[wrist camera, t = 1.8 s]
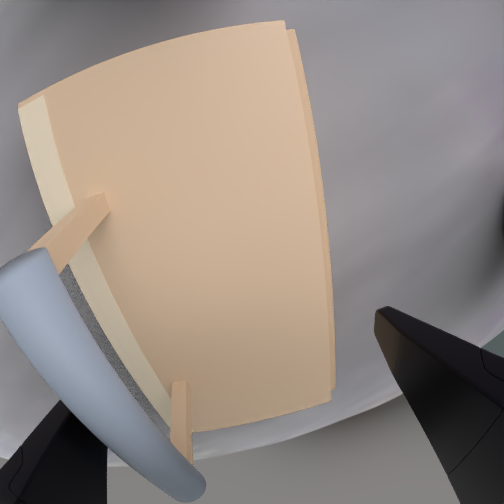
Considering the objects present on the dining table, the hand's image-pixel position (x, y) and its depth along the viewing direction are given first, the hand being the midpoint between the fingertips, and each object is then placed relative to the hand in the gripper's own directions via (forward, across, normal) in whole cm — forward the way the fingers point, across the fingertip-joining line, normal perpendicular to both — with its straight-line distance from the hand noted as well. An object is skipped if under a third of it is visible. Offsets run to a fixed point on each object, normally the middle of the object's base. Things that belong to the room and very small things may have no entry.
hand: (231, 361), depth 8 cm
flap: (+4, +1, 0) cm, 4 cm away
